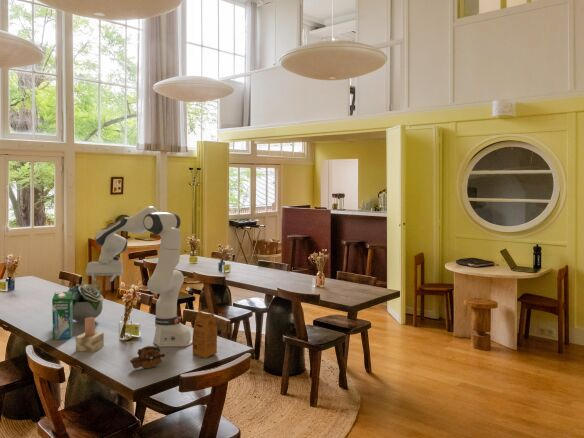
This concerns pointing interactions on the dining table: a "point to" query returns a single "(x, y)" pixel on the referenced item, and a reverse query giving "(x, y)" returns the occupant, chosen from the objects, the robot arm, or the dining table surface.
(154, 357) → the wooden carving
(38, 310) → the dining table surface
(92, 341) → the beige patterned block
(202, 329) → the coffee package
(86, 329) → the brown upright cylinder
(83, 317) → the flower arrangement
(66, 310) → the milk carton
